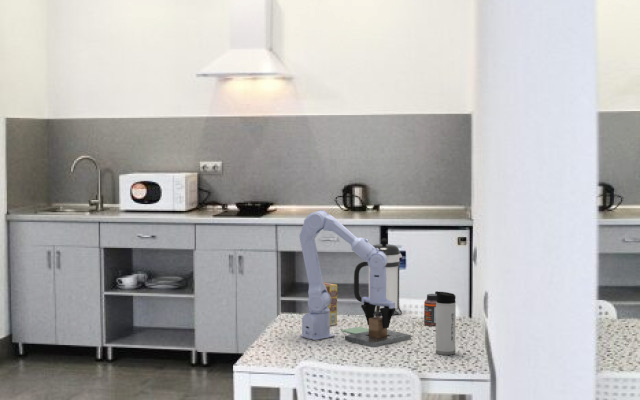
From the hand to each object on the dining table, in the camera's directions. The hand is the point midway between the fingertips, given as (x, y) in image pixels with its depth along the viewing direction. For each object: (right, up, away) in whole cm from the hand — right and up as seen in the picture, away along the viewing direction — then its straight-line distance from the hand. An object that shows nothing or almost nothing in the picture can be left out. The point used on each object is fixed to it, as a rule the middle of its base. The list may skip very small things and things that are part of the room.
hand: (378, 326), depth 312 cm
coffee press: (+4, -2, +46) cm, 46 cm away
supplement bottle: (+22, -3, +26) cm, 34 cm away
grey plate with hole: (0, -5, 0) cm, 5 cm away
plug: (0, -5, 0) cm, 5 cm away
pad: (-6, -4, +14) cm, 15 cm away
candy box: (-18, -3, +27) cm, 33 cm away
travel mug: (+20, -6, -19) cm, 28 cm away
